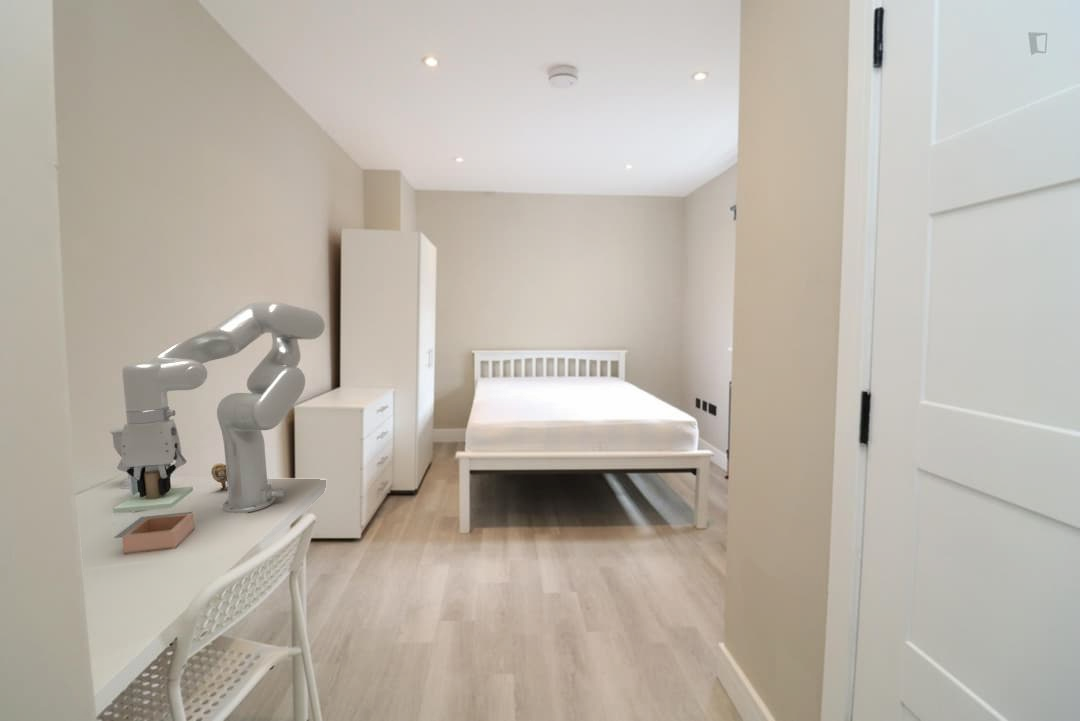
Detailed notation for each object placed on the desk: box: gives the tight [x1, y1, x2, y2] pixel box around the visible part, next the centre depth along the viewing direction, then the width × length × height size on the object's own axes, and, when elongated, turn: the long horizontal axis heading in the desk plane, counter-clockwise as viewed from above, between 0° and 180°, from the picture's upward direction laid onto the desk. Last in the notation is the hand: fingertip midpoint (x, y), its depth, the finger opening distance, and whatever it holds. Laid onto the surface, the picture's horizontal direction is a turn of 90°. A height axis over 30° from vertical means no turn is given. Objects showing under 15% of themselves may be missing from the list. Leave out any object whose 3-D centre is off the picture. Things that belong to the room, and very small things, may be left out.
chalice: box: [109, 427, 130, 490], centre depth 151 cm, size 7×7×18 cm
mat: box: [113, 511, 193, 539], centre depth 124 cm, size 12×12×1 cm
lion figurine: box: [210, 463, 227, 491], centre depth 150 cm, size 15×5×9 cm, turn 162°
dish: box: [121, 512, 196, 555], centre depth 114 cm, size 10×10×4 cm
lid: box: [112, 470, 194, 514], centre depth 113 cm, size 11×11×7 cm
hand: (155, 493), depth 113 cm, fingers closed on lid, 3 cm apart
